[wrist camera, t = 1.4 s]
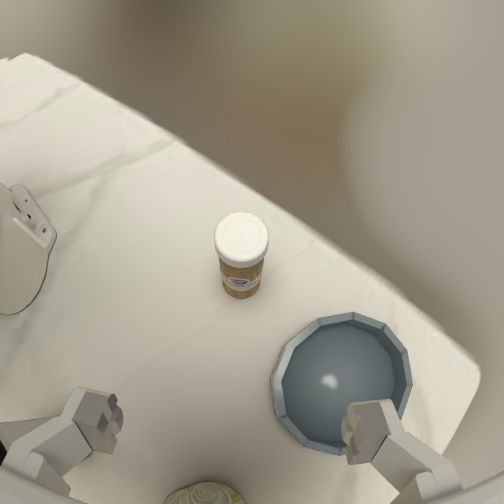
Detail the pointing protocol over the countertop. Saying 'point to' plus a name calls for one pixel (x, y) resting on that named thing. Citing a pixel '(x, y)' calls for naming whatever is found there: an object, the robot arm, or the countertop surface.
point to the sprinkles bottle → (241, 252)
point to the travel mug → (17, 433)
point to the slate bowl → (337, 376)
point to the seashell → (205, 495)
